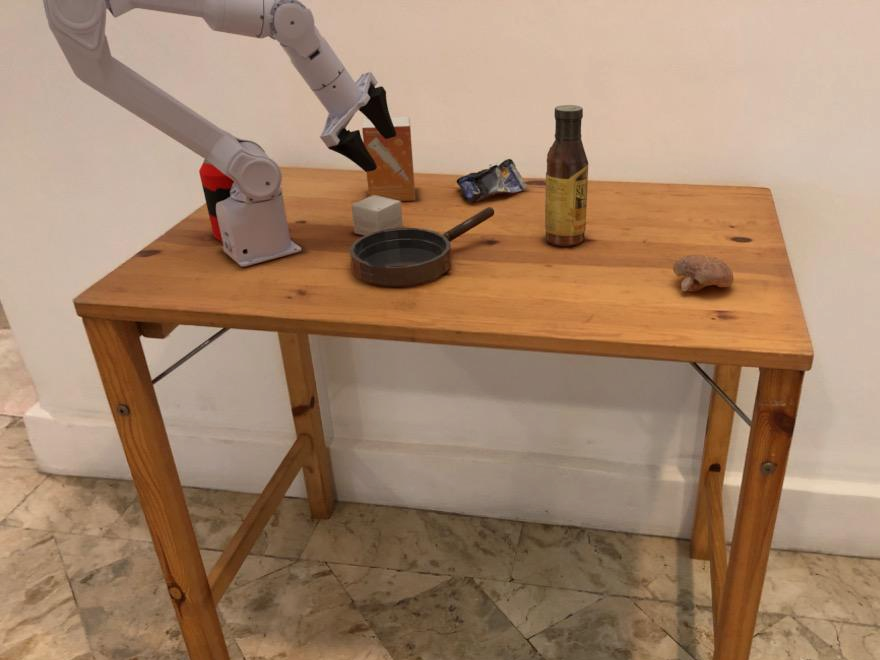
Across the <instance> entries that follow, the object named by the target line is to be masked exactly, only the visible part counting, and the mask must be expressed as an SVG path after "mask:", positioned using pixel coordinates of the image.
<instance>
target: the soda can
mask: <svg viewBox="0 0 880 660" xmlns="http://www.w3.org/2000/svg"><path fill="white" fill-rule="evenodd" d="M198 173H199V177H200V183H201V187H202V192H203V195H204V199H205V204H206V208H207V213H208V218H209V221H210V226H211V230H212V234H213V237H214V238H215V239H216V240H217V241H219V242H222V243H223V241H222V237H221V232H220V228H219V223H218V219H217V214H216V204H217V203H218V202H220V201H223V200H226V199H227V198H229V197H230V196H231V194H230V190H231V188H232V185H233V183H234V181H233V180H232V179H231V178H230V177H228V176H226V175H225V174H223V173H222V172H221V171H220V170H218V169H217V168H216V167H215V166H214V165H212V164H211V163H210V162H209V161H207V160H206V159H203V162H202V164H201V166H200V168H199V170H198Z"/></svg>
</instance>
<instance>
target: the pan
mask: <svg viewBox="0 0 880 660" xmlns="http://www.w3.org/2000/svg"><path fill="white" fill-rule="evenodd" d="M451 247H452V246H451V242H449V240H448V239H447V238H446V237H445V236H443V234H441V233H440V232H437V231H434V230H430V229H426V228H417V227H403V228H395V229H388V230H381V231H378V232H374V233H370V234H368V235H366V236H364V235H362V236H361V237H359V238H357V239H356V240H355V241H354V242H353V243H352V244H351V246H350V248H349V258H350V267H351V270H352V273H353V275H355V276H356V277H357V278H358V279H360V280H362V281H364V282H366V283H368V284H370V285H374V286H378V287H384V288H385V287H386V288H404V287H405V288H407V287H413V286H420V285H423V284H426V283H429V282H432V281H434V280H437V279H438V278H440V277H441V276H442V275H444V274H445V273H446V272H447V271H448V270H449V269H450V268H451V266H452V248H451Z"/></svg>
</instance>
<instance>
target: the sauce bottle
mask: <svg viewBox="0 0 880 660" xmlns="http://www.w3.org/2000/svg"><path fill="white" fill-rule="evenodd" d="M553 114H554V121H555V127H554V129H555V131H554V139H555V140H554V141H553V143H552V144H551V146H550V147H549V149H548V151H547V154H546V172H545V205H544V207H545V209H544V230H545V239H546V242H548V243H549V244H551V245H554V246H558V247H570V246H571V247H572V246H576V245H579V244H581V243H582V242H583V241H584V240H585V233H586V229H587V209H588V208H587V207H588V205H587V204H588V183H589V159H588V157H587V154H586V151H585V148H584V143H583V140H582V136H583V135H582V121H583V117H584V108H583V107H582V106H580V105H575V104H562V105H557V106H555V107H554V113H553Z"/></svg>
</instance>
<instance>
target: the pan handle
mask: <svg viewBox="0 0 880 660" xmlns="http://www.w3.org/2000/svg"><path fill="white" fill-rule="evenodd" d="M494 215H495V209H494V208H493V207H492V206H487V207H486V208H484V209H482V210H481V211H479V212H477V213H476V214H474V215H472V216H470V217H469V218H467V219H465V220H464V221H461V223H459V224H457V225H456V226H454V227H452V228H451V229H448V230H447V231H445V232H444V233H443V234H442V235H443V236H445V237H446V238H447V239H448V240H449V242H450V243H451V242H452V241H454V240H456V239H457V238H459V237H461V236H462V235H464V234H466V233H467V232H469V231H471V230H472V229H474V228H476V227H477V226H479V225H480V224H482V223H483V222H486V221H488V219H490V218H492V217H494Z"/></svg>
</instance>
